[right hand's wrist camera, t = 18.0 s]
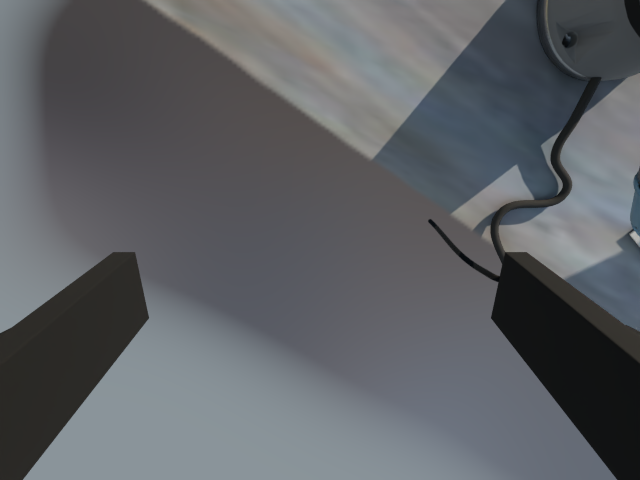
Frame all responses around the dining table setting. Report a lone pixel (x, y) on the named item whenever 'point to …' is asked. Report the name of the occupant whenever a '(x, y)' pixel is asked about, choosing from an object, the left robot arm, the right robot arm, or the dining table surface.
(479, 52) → the dining table surface
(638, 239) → the invitation card
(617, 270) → the dining table surface
